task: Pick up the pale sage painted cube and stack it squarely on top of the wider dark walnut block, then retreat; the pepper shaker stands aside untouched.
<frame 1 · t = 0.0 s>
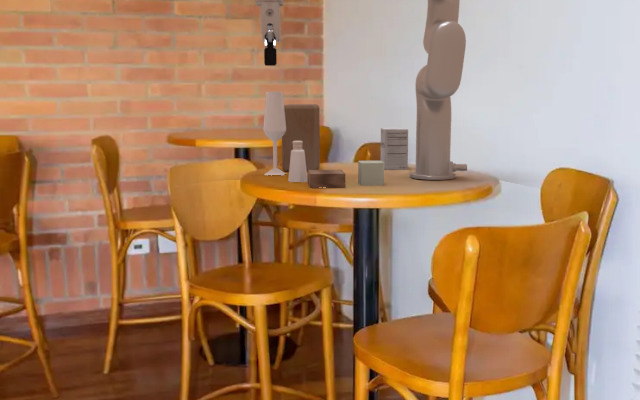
hand: (270, 65, 192), 31 cm above the table, fingers open, 9 cm apart
supplement box: (393, 169, 222), on the table
block: (301, 170, 219), on the table
champagne flute: (275, 175, 209), on the table
walnut block: (326, 187, 185), on the table
pepper shaker: (297, 182, 194), on the table
sage block: (370, 184, 188), on the table
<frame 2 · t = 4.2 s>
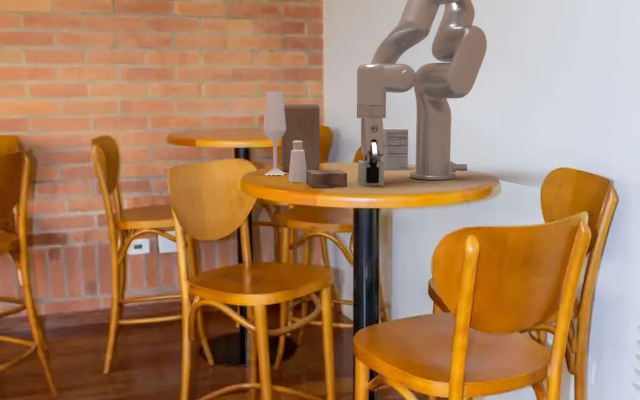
hand: (370, 180, 188), 1 cm above the table, fingers closed on sage block, 6 cm apart
sage block: (370, 184, 188), on the table, touching gripper
everything else where it was.
when the fingers open (6 cm above the table, at t = 10.0 s): sage block drops 1 cm, resting on walnut block.
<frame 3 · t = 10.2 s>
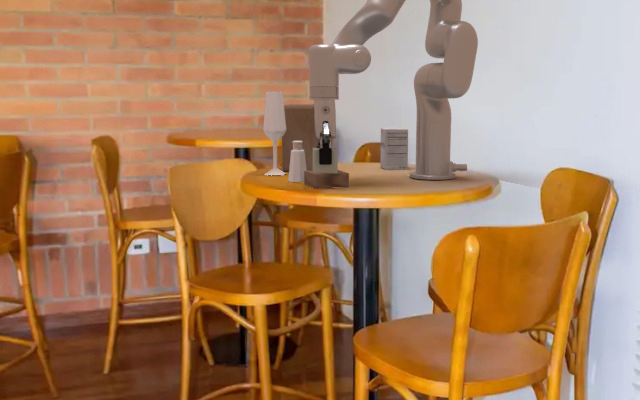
hand: (324, 162, 184), 6 cm above the table, fingers open, 7 cm apart
walnut block: (326, 187, 185), on the table, touching sage block
sage block: (324, 172, 185), point 4 cm above the table, touching walnut block
everything else where it was.
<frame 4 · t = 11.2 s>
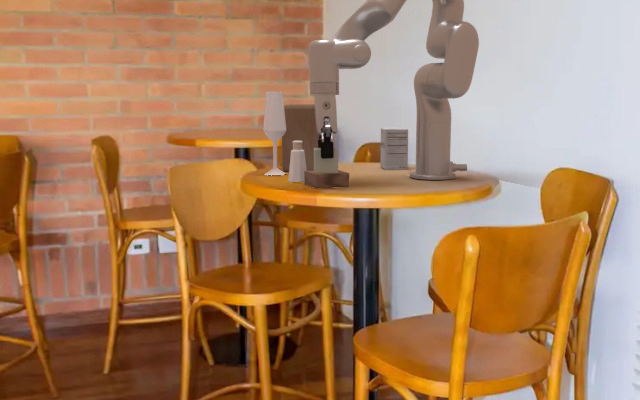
hand: (325, 156, 184), 8 cm above the table, fingers open, 9 cm apart
walnut block: (326, 187, 185), on the table
sage block: (325, 171, 185), point 4 cm above the table
everything else where it was.
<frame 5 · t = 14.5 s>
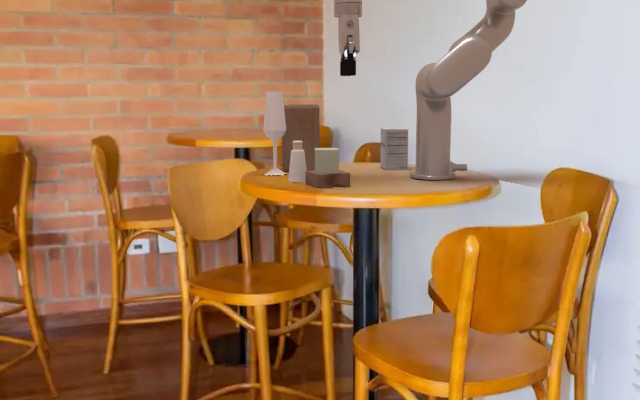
hand: (347, 75, 194), 28 cm above the table, fingers open, 9 cm apart
walnut block: (327, 187, 186), on the table, touching sage block
sage block: (326, 172, 185), point 4 cm above the table, touching walnut block
everything else where it was.
at the end: sage block 0.2 cm off-centre on the walnut block, point 4.1 cm above the walnut block's base; sage block tilted 1°; the gripper is holding nothing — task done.
